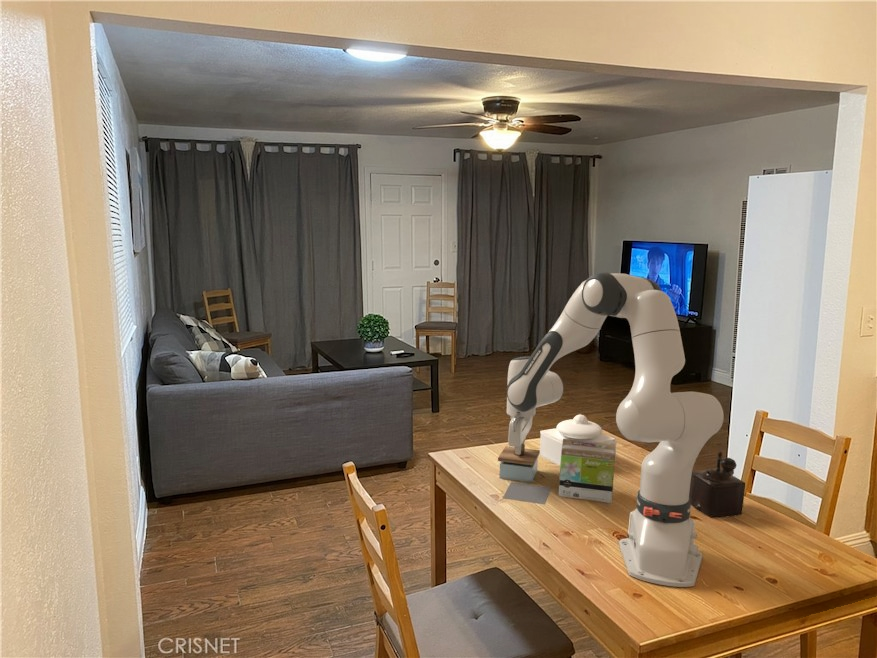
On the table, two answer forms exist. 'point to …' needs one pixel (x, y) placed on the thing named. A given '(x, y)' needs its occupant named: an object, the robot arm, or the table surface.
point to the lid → (524, 458)
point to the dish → (518, 471)
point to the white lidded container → (570, 436)
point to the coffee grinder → (717, 490)
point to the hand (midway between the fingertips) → (519, 451)
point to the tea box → (587, 470)
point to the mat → (527, 493)
